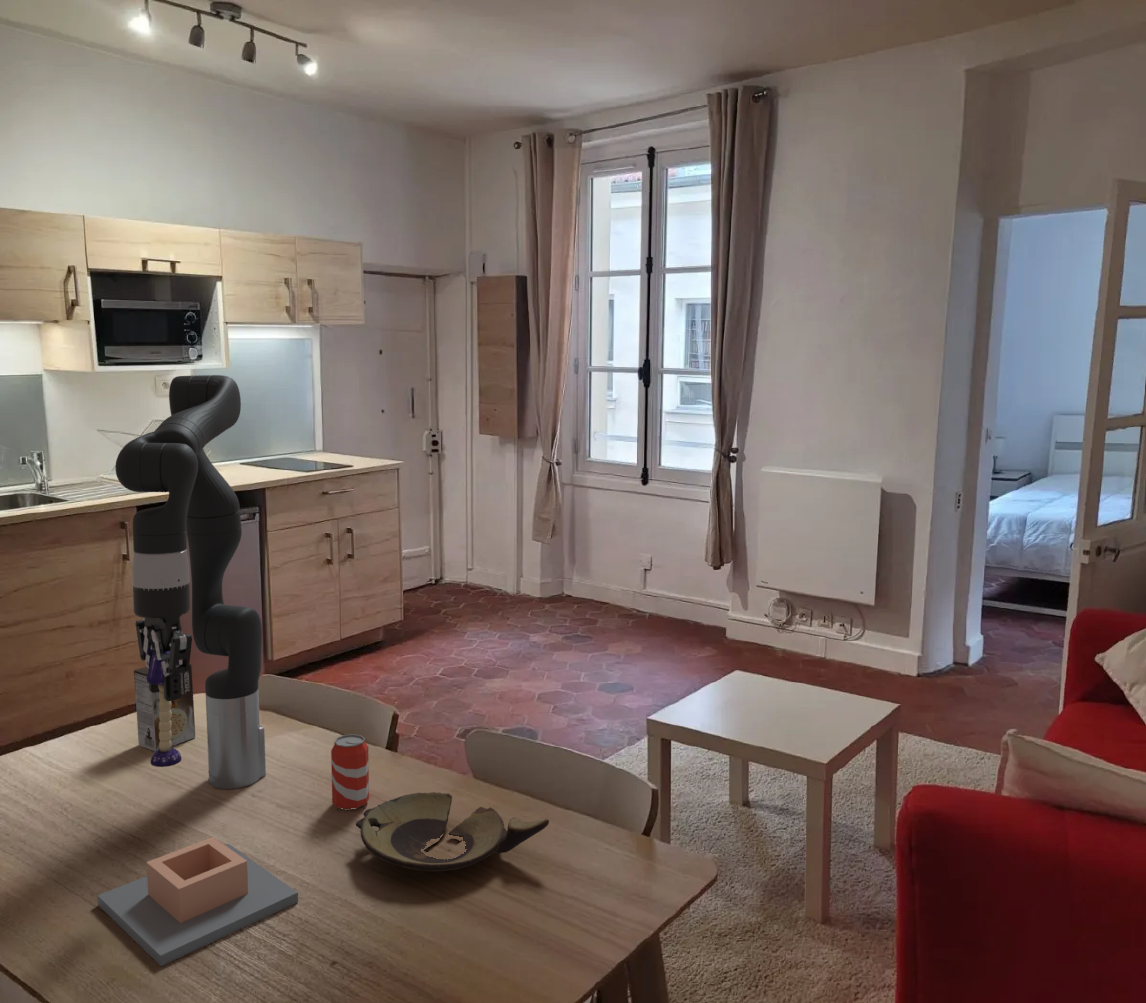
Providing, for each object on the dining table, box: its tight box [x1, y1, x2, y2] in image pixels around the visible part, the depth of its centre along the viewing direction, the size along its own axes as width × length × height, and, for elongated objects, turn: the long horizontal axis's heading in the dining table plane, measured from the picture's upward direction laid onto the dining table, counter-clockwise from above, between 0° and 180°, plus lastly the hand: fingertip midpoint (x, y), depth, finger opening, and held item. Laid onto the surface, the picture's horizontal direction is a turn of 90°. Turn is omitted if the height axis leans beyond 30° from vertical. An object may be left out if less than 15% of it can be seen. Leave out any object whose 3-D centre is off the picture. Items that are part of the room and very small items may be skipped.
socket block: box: [97, 836, 299, 967], centre depth 133 cm, size 20×20×6 cm
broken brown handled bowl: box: [355, 791, 550, 872], centre depth 147 cm, size 22×30×8 cm
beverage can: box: [330, 733, 370, 810], centre depth 164 cm, size 6×6×12 cm
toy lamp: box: [147, 651, 182, 768], centre depth 136 cm, size 5×5×17 cm
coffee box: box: [133, 663, 196, 753], centre depth 189 cm, size 9×6×16 cm
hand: (165, 694), depth 135 cm, fingers closed on toy lamp, 4 cm apart
